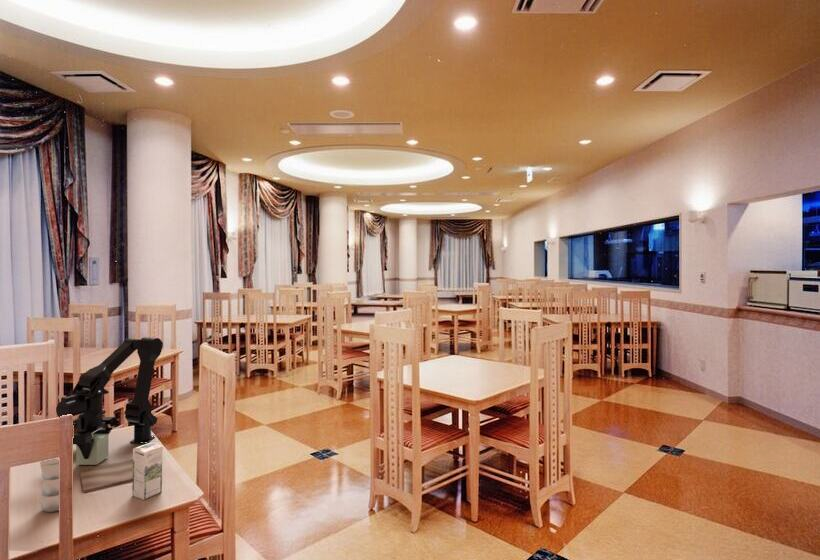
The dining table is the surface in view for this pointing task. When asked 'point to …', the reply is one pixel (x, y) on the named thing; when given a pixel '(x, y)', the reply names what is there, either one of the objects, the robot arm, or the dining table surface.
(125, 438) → the dining table surface
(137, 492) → the syrup box
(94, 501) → the dining table surface
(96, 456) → the mint green cube
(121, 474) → the walnut board
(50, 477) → the plastic bottle
